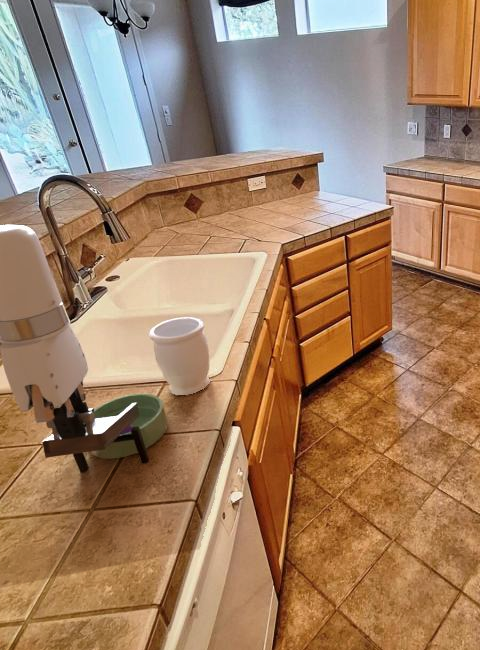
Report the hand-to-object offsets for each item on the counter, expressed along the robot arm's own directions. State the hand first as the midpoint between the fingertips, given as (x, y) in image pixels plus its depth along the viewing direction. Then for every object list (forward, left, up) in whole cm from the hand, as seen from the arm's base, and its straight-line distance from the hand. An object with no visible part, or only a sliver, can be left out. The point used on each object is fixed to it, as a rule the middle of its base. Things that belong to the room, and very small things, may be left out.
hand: (77, 430), depth 64 cm
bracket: (0, +7, -13) cm, 15 cm away
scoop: (0, +4, -5) cm, 7 cm away
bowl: (0, +15, -14) cm, 20 cm away
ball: (0, +12, -9) cm, 15 cm away
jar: (+8, +30, -14) cm, 33 cm away
